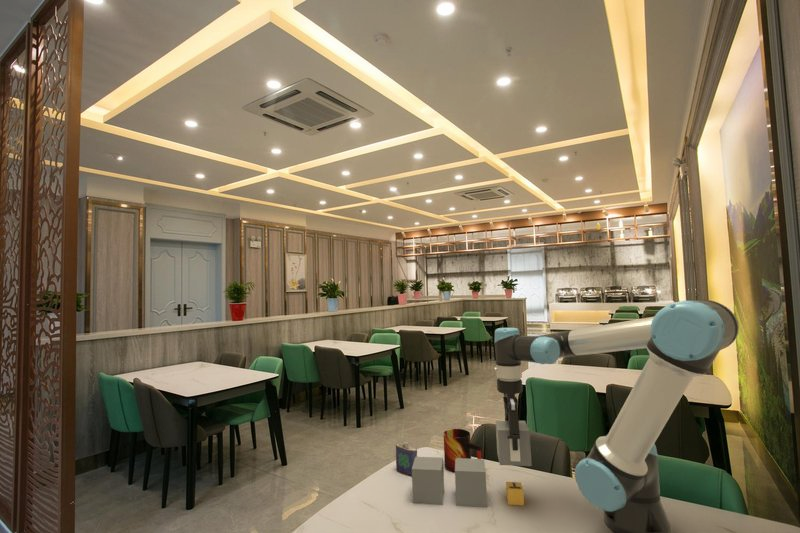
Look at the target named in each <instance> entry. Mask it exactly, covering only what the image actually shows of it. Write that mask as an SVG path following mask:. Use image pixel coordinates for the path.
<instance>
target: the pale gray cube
mask: <svg viewBox="0 0 800 533" xmlns="http://www.w3.org/2000/svg"><path fill="white" fill-rule="evenodd" d="M486 473H487V472H486V465H485V459H483V458H481V459H478V458H471V459H465V458H456V460H455V473H454V484H455V506H457V507H458V506H459V507H479V508H488V499H487V496H488V493H487V475H486Z"/></svg>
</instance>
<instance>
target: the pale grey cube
mask: <svg viewBox="0 0 800 533" xmlns="http://www.w3.org/2000/svg"><path fill="white" fill-rule="evenodd" d="M518 421H519V433H520V439H519V444H520V461H511V458H510V440H509V439H508V436H510V431H509V421H505V420H499V419H498V420H497V419H496V420H495V434H496V436H495V438H496V452H497V458H498V464H499V466H513V467H514V466H516V467H517V466H518V467H532V465H533V464H532V452H531V451H532V450H531V449H532V448H531V433H530V429H529V426H528V425H527V423H526V420H518Z"/></svg>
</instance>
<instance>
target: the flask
mask: <svg viewBox="0 0 800 533" xmlns="http://www.w3.org/2000/svg"><path fill="white" fill-rule="evenodd" d="M402 443H403V444H402ZM408 445H409V442H408V441H404V442H401V443H397V444H396V445H395V458H396V459H395V460H396V461H395V463H396V464H395V469H396V470H395V471H396V472H398V473H400V474H402V475H405V476H409V477H412V466H413V463H414V460H415V457H418V449H417V448H415V447H411V446H408Z"/></svg>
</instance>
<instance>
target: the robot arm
mask: <svg viewBox="0 0 800 533" xmlns="http://www.w3.org/2000/svg"><path fill="white" fill-rule="evenodd" d="M739 329H740V327H739V321H738V319H737V317H736V315H735V313H734V312H733V311H732V310H731V309H730V308H729V307H727V306H725V305H724V304H722V303H720V302H718V301H715V300H709V299H697V300H680V301H679V300H678V301H676V302H673V303H670V304H668V305H666V306H665V307H663V308H661V309H660V310H659V311H658V312H656V314H655V315H654V316H651V317H643V318H638V319H631V320H627V321H620V322H619V321H618V322H614V323H607V324H602V325H595V326H590V327H583V328H577V329H572V330H565V331H558V332H554V333H549V334H542V335H541V334H540V335H521V333H520V330H519V328H517V327H499V328H496V329H495V330H494V342H493V344H494V351H495V352H494V353H495V366H496V367H494V370H493V371H495V372H496V377H497V379H496V390H497V392H498V393H500V394H503V397H502V399H503V400H502V401H503V407H504V421H509V431H510V436H508V439H509V440H510V458H511V461H520V444H519V439H520V433H519V421H520V420H519V408H518V406H519V402H518V398H517V396H516V394H521V393H522V392H523V380H522V378H523V372H522V371H523V370H522V362H527V363H535V364H540V365H554V364H555V363H556V362H557V361H558V360H559V359H561V358H566V357H567V358H568V357H577V356H585V355H593V354H603V353H613V352H620V351H621V352H622V351H631V350H640V349H641V350H642V349H646V350H647V352H648V354H649V357H648V359H647V361H646V362H645V364H644V366H643V368H642V370H641V372H640V374H639V375H638V377H637V379H636V381H635V383H634V385H633V387H632V388H631V390H630V393H629V395H628V396H627V398H626V400H625V401H624V404H623V406H622V407H621V408H620V411H619V413H618V414H617V417H616V418H615V421H614V422H613V424H612V426H611V428H610V429H609V432H608V433H607V434H606V435H603V436H599V437H598V438H596V440H595V442H594V444H593V446H592V448H591V450H590V451H589V453H588V455H587V456H586V457H584V458H582V459H580V461H578V464H576V466H575V469H574V479H575V482H576V484H577V487H578V490H579V491H580V493H581V494H582V496H583V498H585V500H587V501H588V502H589V503H590V504H591V505H592V506H594V507H596V508H598V510H601V511H603V516H604V522H605V524H606V526H607V527H608V528H609V529H610V530H611V531H613V532H614V533H672V528H671V524H670V521H669V518H668V516H667V513H666V511H665V508H664V507H663V504H662V501H661V490H660V475H659V472H660V471H659V462H658V461H659V458H658V457H659V454H658V450H657V446H656V444H655V443H656V441H657V439H658V438H659V436H660V435H661V433H662V431H663V429H664V428H665V426H666V424H667V423H668V421H669V419H670V418H671V415H672V414H673V412H674V411H675V409H676V407H677V406H678V404H679V402H680V400H681V398H682V397H683V395H684V393H685V391H686V390H687V388H688V387H689V385H690V383H691V381H692V380H693V378H694V377H700V376H701V377H702V376H705V375H706V374H707V372H708V371H709V370H710V367H711V366H712V364H713V363H714V361H715V359H716V358H717V356H718V355H719V352H720V351H722V350H724V349H726V348H729V346H731V345H732V344H733V343H734V342H735V341H736V340H737V337H738V334H739Z"/></svg>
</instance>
